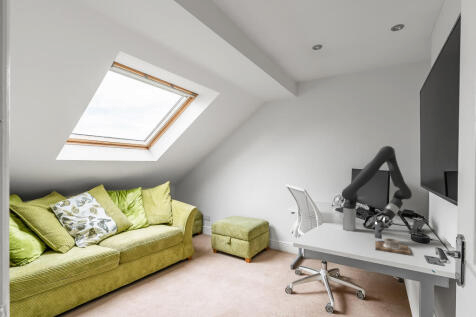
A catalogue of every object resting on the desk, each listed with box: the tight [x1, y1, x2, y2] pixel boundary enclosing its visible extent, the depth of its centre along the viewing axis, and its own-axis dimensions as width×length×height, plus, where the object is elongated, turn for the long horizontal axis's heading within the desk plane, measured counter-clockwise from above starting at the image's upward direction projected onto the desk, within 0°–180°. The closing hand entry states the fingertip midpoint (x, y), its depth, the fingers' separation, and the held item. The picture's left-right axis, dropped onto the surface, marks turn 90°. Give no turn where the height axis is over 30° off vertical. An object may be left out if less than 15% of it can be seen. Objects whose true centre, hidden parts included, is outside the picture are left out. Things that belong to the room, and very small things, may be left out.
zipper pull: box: [408, 219, 426, 235], centre depth 192 cm, size 9×7×25 cm
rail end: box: [373, 219, 383, 240], centre depth 169 cm, size 5×5×12 cm
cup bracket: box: [374, 237, 412, 256], centre depth 154 cm, size 18×14×6 cm
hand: (376, 230), depth 169 cm, fingers closed on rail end, 4 cm apart
